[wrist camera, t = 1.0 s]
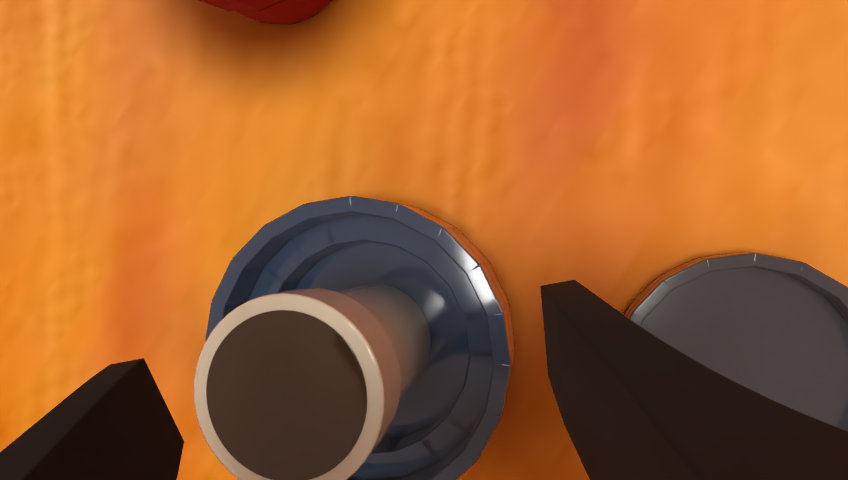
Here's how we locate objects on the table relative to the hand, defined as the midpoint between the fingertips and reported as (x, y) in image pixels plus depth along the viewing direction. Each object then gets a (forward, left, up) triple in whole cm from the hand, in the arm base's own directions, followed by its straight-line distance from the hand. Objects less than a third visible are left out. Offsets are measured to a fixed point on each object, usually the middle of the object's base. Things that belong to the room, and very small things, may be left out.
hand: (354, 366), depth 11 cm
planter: (-1, +4, -14) cm, 15 cm away
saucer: (-4, -10, -14) cm, 18 cm away
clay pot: (-1, +4, -14) cm, 14 cm away
